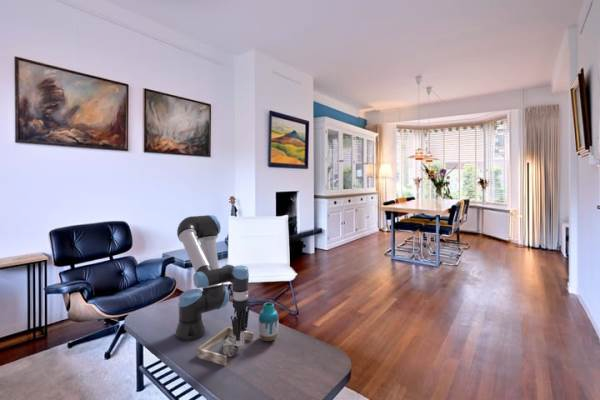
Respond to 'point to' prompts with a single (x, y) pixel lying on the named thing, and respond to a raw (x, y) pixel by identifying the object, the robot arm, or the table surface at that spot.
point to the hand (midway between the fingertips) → (240, 344)
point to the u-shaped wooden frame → (212, 356)
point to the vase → (268, 322)
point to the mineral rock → (230, 346)
